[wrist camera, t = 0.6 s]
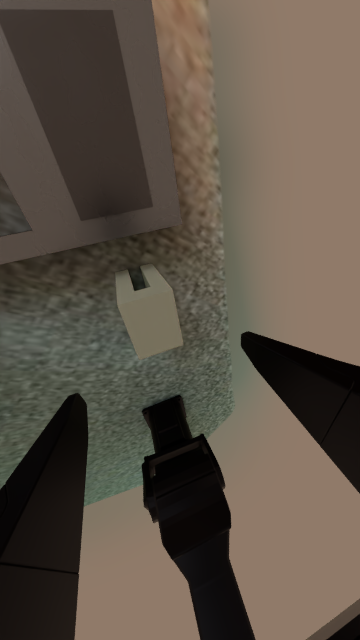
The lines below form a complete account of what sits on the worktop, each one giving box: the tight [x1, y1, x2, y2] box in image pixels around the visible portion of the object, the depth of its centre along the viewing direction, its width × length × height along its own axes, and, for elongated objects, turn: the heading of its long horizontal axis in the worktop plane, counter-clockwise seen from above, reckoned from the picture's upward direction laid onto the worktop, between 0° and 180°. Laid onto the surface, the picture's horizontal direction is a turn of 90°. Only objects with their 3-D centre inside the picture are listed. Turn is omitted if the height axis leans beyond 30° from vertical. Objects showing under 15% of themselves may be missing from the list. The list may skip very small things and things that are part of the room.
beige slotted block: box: [115, 263, 184, 360], centre depth 16 cm, size 5×4×8 cm
